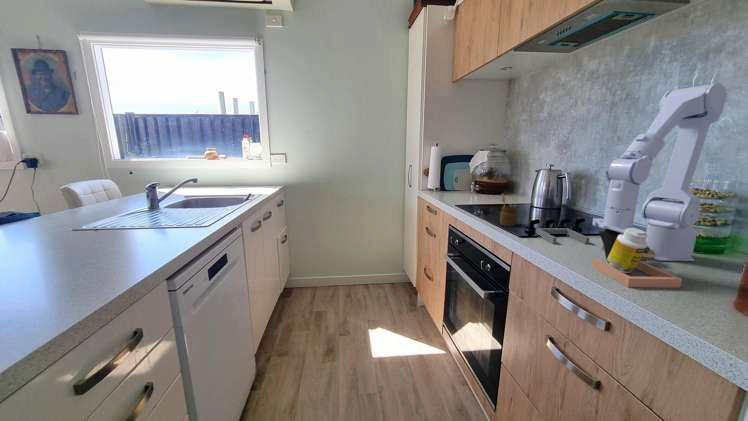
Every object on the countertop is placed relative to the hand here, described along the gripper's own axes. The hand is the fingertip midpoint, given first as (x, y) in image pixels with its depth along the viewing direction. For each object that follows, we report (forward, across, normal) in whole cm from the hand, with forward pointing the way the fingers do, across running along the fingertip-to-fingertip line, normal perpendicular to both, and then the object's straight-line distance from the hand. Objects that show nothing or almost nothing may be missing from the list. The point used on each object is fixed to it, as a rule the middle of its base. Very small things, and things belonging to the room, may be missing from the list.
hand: (611, 259), depth 75 cm
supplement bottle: (+1, +3, 0) cm, 3 cm away
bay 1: (+1, -22, 0) cm, 22 cm away
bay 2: (+1, +6, 0) cm, 7 cm away
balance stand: (+1, -8, +9) cm, 12 cm away
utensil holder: (+2, -40, -10) cm, 42 cm away
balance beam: (-3, -8, +9) cm, 13 cm away
